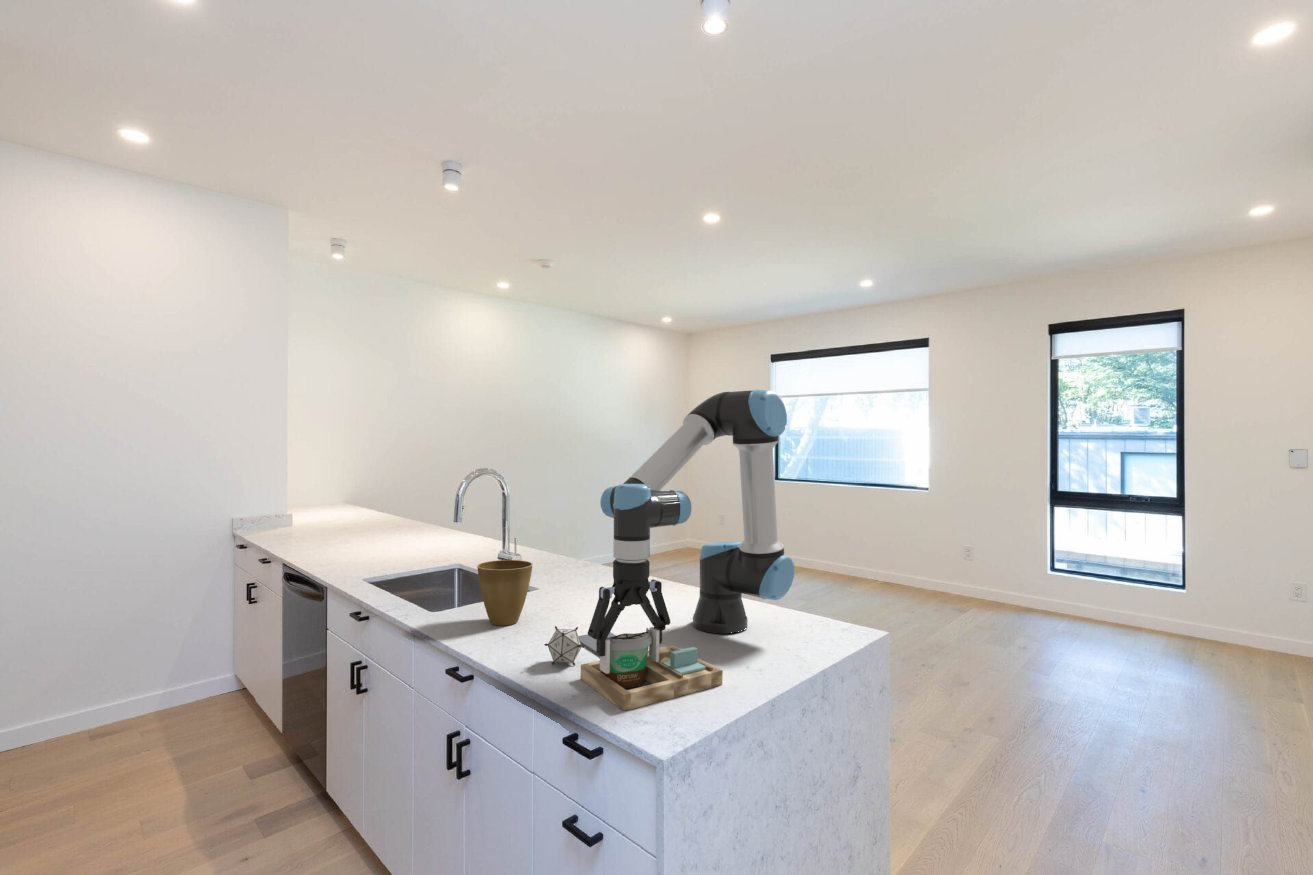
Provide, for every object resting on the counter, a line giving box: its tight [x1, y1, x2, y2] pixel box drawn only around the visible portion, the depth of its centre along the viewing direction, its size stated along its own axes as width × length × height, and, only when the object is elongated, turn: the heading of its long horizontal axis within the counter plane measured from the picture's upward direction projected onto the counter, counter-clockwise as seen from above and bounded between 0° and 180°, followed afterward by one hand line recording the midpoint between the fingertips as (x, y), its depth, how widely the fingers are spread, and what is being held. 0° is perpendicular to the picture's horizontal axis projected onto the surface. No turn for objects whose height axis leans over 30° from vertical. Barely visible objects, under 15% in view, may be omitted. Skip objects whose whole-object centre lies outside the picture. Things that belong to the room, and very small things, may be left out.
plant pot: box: [476, 559, 533, 627], centre depth 167 cm, size 15×15×16 cm
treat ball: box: [660, 658, 670, 663], centre depth 133 cm, size 3×3×3 cm
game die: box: [543, 625, 586, 666], centre depth 137 cm, size 9×8×10 cm
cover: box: [662, 646, 706, 675], centre depth 128 cm, size 7×7×4 cm
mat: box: [578, 631, 617, 655], centre depth 149 cm, size 10×16×1 cm, turn 34°
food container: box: [596, 627, 652, 689], centre depth 124 cm, size 12×6×10 cm, turn 118°
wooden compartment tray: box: [580, 645, 724, 712], centre depth 127 cm, size 24×18×4 cm
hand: (630, 665), depth 124 cm, fingers closed on food container, 11 cm apart
